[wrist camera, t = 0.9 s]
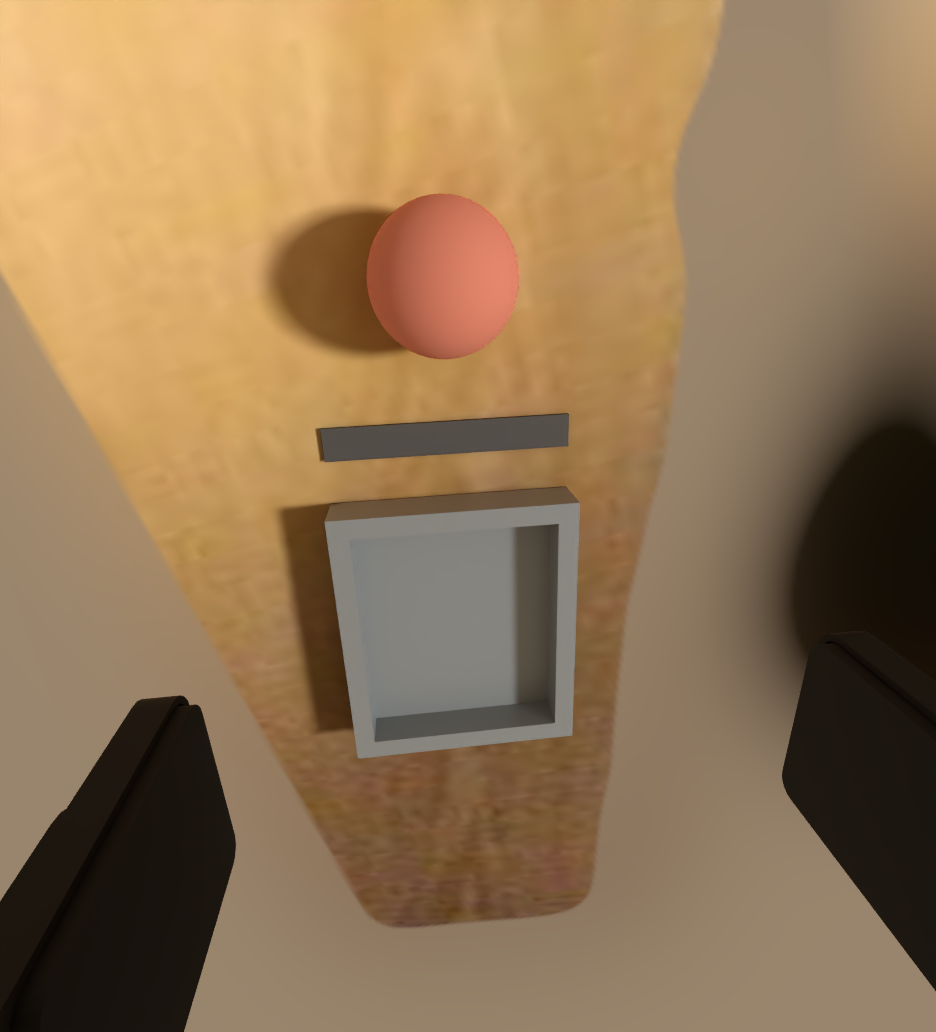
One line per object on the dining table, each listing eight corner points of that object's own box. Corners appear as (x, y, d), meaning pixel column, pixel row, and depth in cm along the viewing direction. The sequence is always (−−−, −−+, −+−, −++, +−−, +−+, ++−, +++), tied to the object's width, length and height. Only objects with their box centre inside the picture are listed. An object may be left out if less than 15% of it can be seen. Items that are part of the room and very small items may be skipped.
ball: (363, 208, 24) (351, 181, 18) (504, 204, 24) (533, 177, 19) (377, 355, 26) (370, 371, 21) (506, 349, 27) (533, 362, 21)
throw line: (320, 428, 27) (320, 429, 27) (567, 413, 28) (568, 414, 28) (325, 461, 28) (324, 462, 27) (566, 445, 29) (567, 446, 28)
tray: (331, 503, 28) (324, 521, 26) (566, 486, 29) (580, 502, 27) (361, 726, 33) (358, 758, 31) (560, 705, 34) (572, 735, 32)
